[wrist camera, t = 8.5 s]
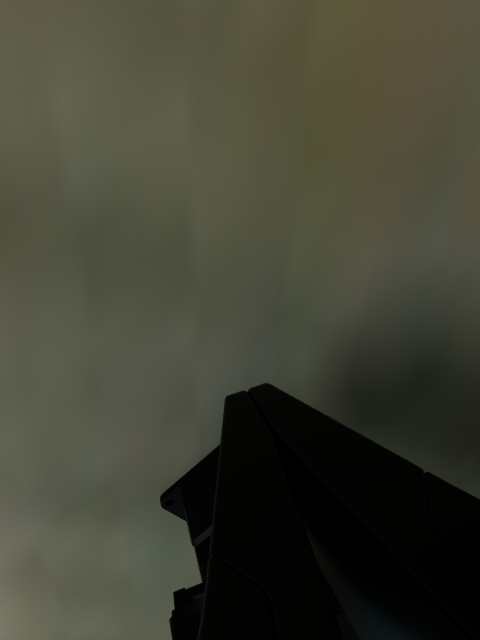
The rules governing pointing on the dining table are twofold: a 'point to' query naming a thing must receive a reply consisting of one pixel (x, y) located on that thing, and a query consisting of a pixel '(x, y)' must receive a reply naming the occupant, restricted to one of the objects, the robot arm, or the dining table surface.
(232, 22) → the dining table surface
